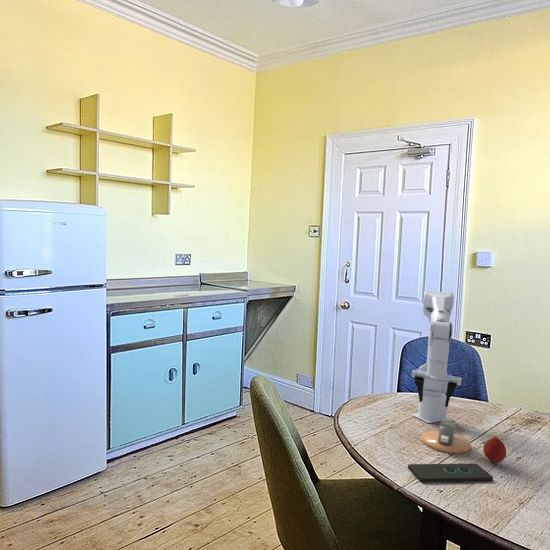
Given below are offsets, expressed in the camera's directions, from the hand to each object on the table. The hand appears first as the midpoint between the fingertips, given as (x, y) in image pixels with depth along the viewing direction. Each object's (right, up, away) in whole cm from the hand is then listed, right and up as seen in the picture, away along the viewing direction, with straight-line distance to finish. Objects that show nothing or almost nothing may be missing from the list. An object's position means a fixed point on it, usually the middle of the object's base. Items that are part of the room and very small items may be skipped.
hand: (433, 403), depth 158 cm
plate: (+2, -11, -4) cm, 12 cm away
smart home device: (-4, -13, -25) cm, 28 cm away
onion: (+12, -13, -16) cm, 24 cm away
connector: (+2, -10, -6) cm, 11 cm away
